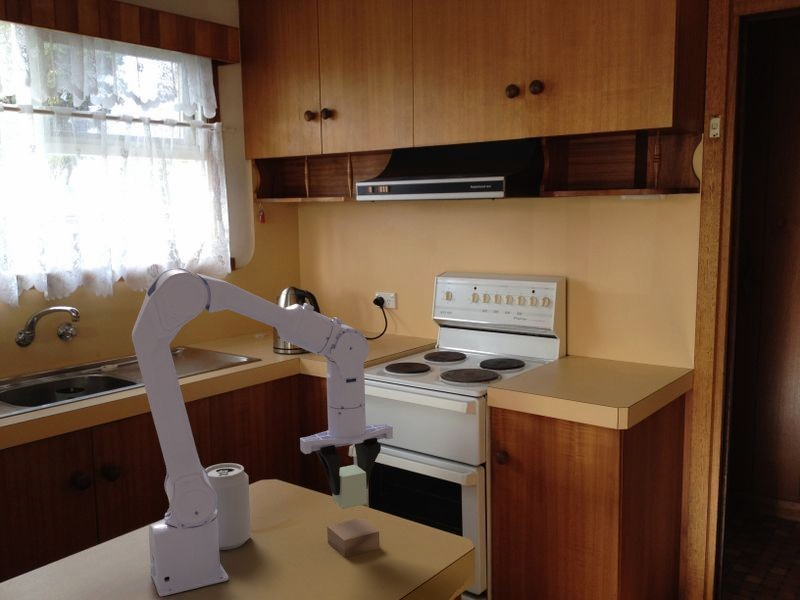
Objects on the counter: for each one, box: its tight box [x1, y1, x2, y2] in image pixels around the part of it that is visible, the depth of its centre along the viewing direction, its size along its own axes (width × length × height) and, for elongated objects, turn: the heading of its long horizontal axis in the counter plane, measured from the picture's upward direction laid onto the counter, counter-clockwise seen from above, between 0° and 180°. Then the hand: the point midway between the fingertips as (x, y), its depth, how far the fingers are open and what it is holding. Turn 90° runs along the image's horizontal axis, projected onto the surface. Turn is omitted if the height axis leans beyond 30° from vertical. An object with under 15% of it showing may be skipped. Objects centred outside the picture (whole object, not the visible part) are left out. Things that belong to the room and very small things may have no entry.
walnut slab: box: [326, 517, 380, 558], centre depth 116 cm, size 6×6×3 cm
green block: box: [332, 464, 368, 510], centre depth 115 cm, size 4×4×5 cm
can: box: [204, 462, 252, 551], centre depth 118 cm, size 8×8×12 cm
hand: (349, 490), depth 115 cm, fingers closed on green block, 4 cm apart
